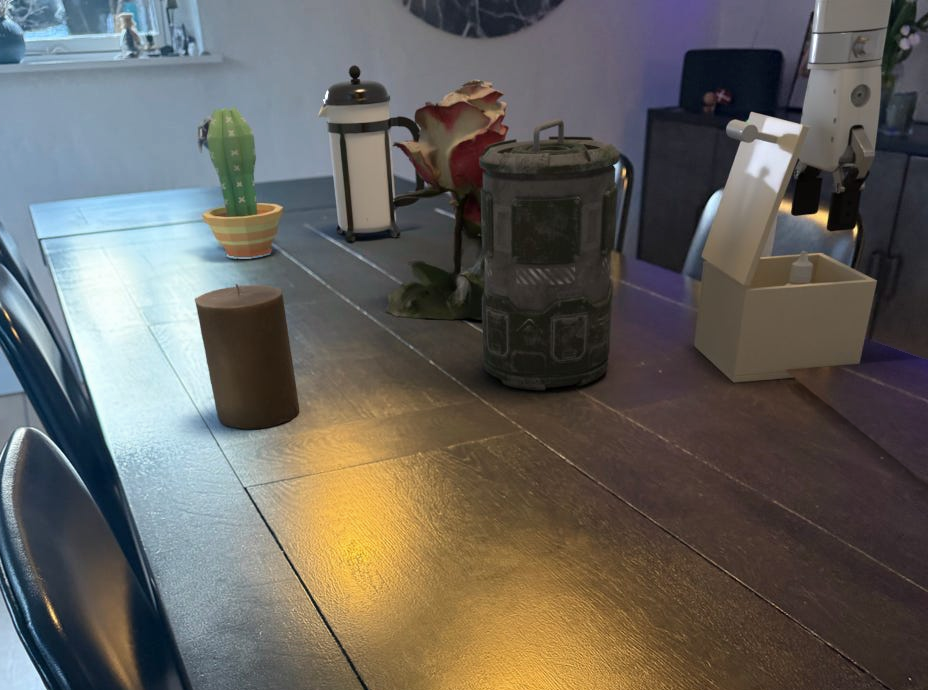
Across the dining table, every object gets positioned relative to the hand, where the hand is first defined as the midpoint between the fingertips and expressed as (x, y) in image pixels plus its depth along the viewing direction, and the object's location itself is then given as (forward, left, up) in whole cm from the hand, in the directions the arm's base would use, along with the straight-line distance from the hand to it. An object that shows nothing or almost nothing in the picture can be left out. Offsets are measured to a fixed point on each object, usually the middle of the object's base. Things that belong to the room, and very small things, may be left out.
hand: (821, 221), depth 109 cm
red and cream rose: (+34, -38, -16) cm, 54 cm away
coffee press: (+50, -94, -16) cm, 108 cm away
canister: (+32, -2, -16) cm, 36 cm away
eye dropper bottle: (+1, 0, -16) cm, 16 cm away
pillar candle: (+68, +5, -16) cm, 71 cm away
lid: (+9, 0, +3) cm, 9 cm away
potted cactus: (+75, -83, -16) cm, 113 cm away
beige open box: (+3, 0, -16) cm, 16 cm away
